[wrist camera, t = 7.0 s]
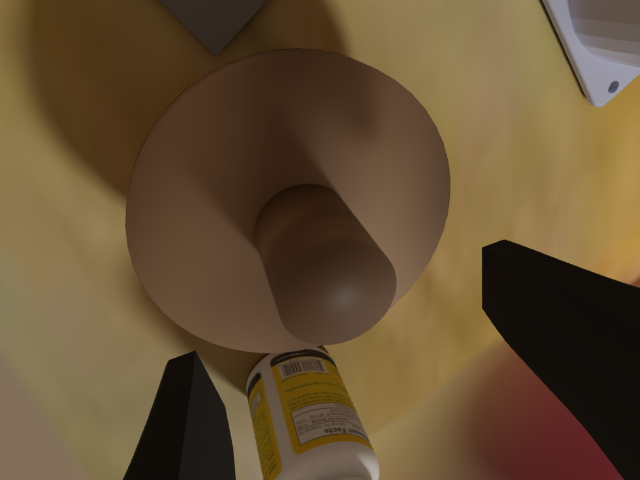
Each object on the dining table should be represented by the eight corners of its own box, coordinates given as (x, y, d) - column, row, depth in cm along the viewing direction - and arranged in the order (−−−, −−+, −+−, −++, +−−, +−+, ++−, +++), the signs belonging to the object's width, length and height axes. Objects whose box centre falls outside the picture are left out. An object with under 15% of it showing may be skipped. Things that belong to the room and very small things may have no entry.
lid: (423, 4, 12) (532, 18, 9) (443, 279, 18) (515, 359, 14) (57, 110, 11) (2, 178, 7) (200, 370, 17) (209, 484, 13)
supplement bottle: (282, 420, 25) (326, 594, 18) (225, 382, 22) (252, 569, 15) (350, 370, 24) (424, 528, 17) (301, 325, 22) (364, 490, 15)
